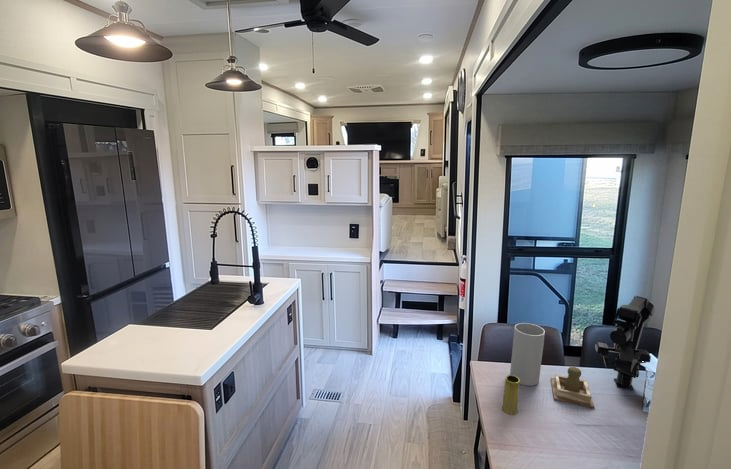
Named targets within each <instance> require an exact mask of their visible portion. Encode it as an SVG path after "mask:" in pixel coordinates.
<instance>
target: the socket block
mask: <svg viewBox="0 0 731 469" xmlns="http://www.w3.org/2000/svg"><path fill="white" fill-rule="evenodd" d="M567 378H568V376H565V375H560V374H556V373H555V374H554V377H550V383H551V390H552V395H553V396H552V398H553V401H558V402H561V403H566V404H570V405H575V406H580V407H585V408H589V409H593V410H594V409H595V404H594V403H595V402H594V400H593V397H592V394H591V389H590V387H589V385H588V382H587V380H586V379H581V378H579V386H580V393H578V392H573V391H568V390H564V387H565V384H566V381H567Z"/></svg>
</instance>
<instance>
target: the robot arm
mask: <svg viewBox="0 0 731 469" xmlns="http://www.w3.org/2000/svg"><path fill="white" fill-rule="evenodd" d="M649 300H650V299H649V298H647V297H643V296H639V295H634V296H633V298H632V299H631V301H630V302H629V303H628V304H622V305H621V306H619V307H618V308H617V309H616V312H615V314H614V318H613V321H612V324H615V325H616V327H615V328H614V329H613V330H612V331H611V332H610V334H609V338H610V340H611V342H613V347H611V346H608V344H607V343H604V342H599V341H597V342H596V343H594V344H595V345H594V349H595V351H596V353H597V354H599V355H600V356H602V358H603V363H604V366H605V368H606V369H608V366H609V365H608V364H609V354H610V353H615V354H617V357H616V358H615V359H614V361H613V371H615V372H617V373H616V378H613V380H614V381H613V382H614V383H615V385H616V387H618V388H622V389H627V390H631V391H634V390H635V388H634V386H633V378H634V379H636V378H639V377H640V368H639V366H640V365H641V364H647V363H651V359H652V358H651V355H650V353H649V352H648V351H647V350H646V349H642V348H638V347H639V343H640V340H641V337H642V333H643V331H644V330H643V329H644V326H645V324H646V323H648V322H649V321H650V320H651V318H652V317H653V316H654V313H655V306H654V304H653V303H651V302H650V301H649ZM609 352H610V353H609ZM642 361H644V362H642Z"/></svg>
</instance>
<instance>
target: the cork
mask: <svg viewBox="0 0 731 469" xmlns="http://www.w3.org/2000/svg"><path fill="white" fill-rule="evenodd" d="M567 374H568V376H567V377H568V378H567V381H566V384H565V387H564V390H568V391H573V392H578V393H580V386H579V379H580V378H581V375H582V370H581V369H580V368H578V367H575V366H570V367H568V369H567Z"/></svg>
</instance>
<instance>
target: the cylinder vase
mask: <svg viewBox="0 0 731 469" xmlns="http://www.w3.org/2000/svg"><path fill="white" fill-rule="evenodd" d="M513 330H514V331H513V341H512V351H511V360H510V361H511V362H510V371H509V375H513V376H516V377H518V378H519V380H520V382H519V385H522V386H527V387H533V386H536V385H538V384H539V382H540V375H541V367H542V360H543V359H542V358H543V353H544V352H543V351H544V343H545V335H546V334H545V333H546V331H545V329H544V328H543V327H541V326H539V325H537V324H533V323H530V322H529V323H528V322H520V323H517V324H515V325H514V329H513Z"/></svg>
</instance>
